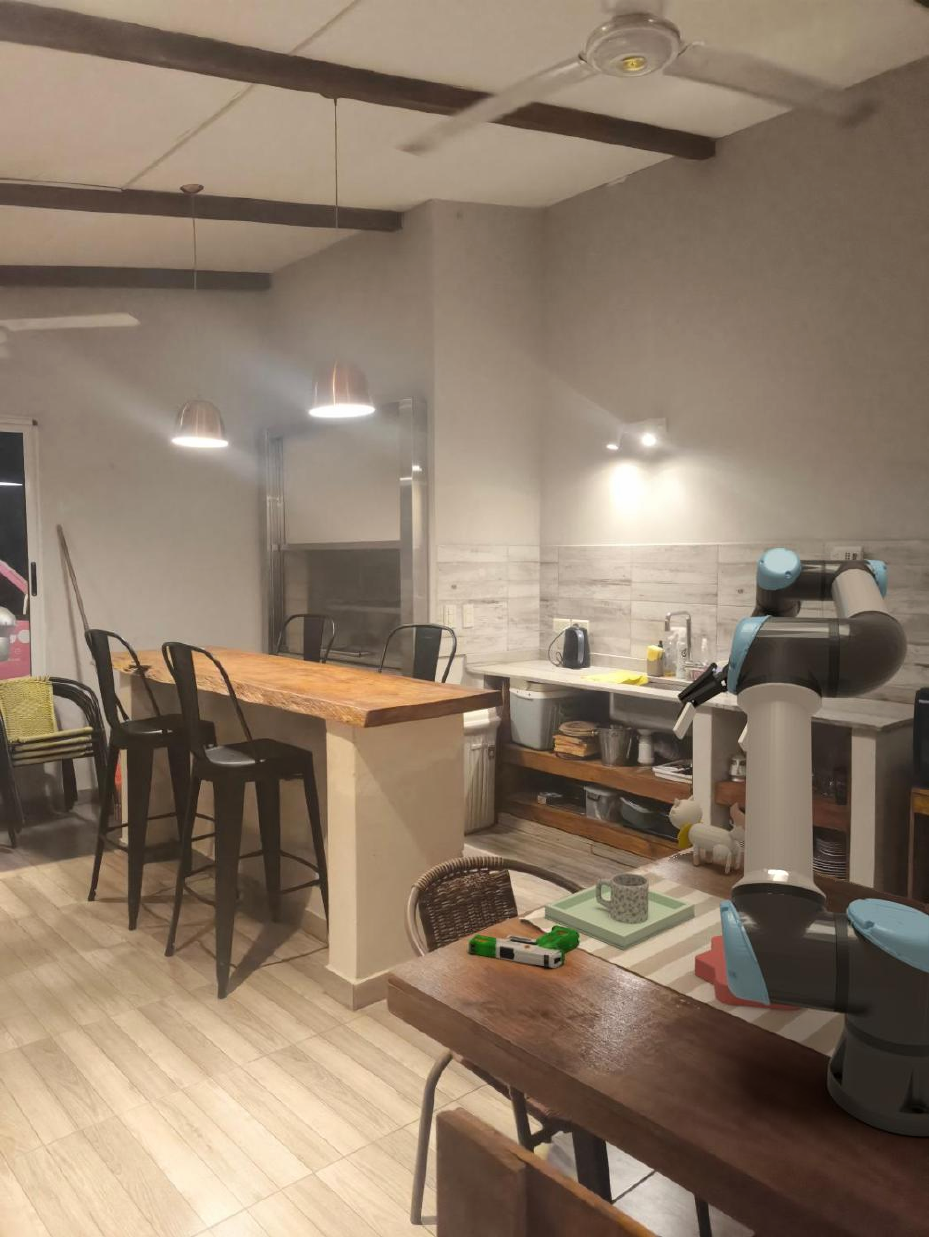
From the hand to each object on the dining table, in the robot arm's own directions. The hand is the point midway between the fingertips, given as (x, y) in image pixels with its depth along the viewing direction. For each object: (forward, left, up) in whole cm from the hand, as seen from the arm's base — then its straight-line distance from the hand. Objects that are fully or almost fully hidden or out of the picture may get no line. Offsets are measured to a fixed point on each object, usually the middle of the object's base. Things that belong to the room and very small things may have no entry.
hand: (708, 740), depth 168 cm
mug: (-14, +9, -31) cm, 35 cm away
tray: (-14, +9, -32) cm, 36 cm away
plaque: (-18, -19, -32) cm, 41 cm away
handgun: (-35, +12, -32) cm, 49 cm away
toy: (+20, +12, -32) cm, 40 cm away
